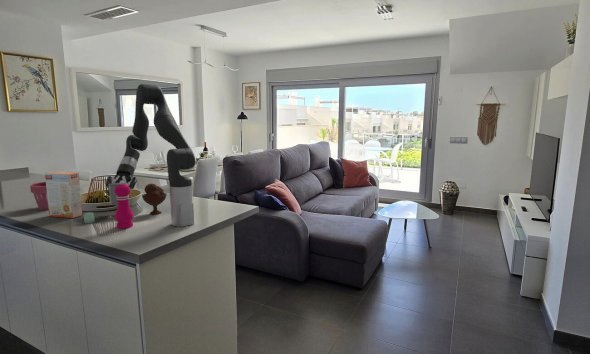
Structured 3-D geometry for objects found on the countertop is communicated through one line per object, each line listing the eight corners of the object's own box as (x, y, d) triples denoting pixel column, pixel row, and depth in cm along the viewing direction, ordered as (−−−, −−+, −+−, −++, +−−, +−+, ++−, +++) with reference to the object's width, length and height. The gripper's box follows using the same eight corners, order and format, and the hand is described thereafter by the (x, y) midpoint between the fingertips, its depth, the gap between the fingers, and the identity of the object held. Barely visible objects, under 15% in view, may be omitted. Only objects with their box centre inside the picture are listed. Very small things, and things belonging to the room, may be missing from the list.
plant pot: (62, 209, 173) (59, 185, 171) (28, 212, 167) (25, 186, 165) (69, 203, 186) (66, 180, 184) (38, 205, 181) (35, 181, 179)
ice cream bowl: (159, 217, 161) (157, 185, 159) (138, 215, 163) (136, 184, 161) (171, 211, 171) (170, 182, 169) (151, 210, 174) (150, 181, 171)
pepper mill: (129, 223, 151) (126, 178, 148) (137, 226, 147) (134, 180, 144) (112, 226, 146) (108, 180, 143) (120, 230, 141) (116, 182, 138)
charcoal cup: (127, 202, 167) (126, 182, 166) (120, 205, 161) (119, 184, 160) (115, 201, 168) (113, 181, 166) (107, 205, 161) (106, 184, 160)
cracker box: (83, 215, 163) (79, 172, 159) (72, 218, 157) (67, 174, 154) (60, 213, 166) (56, 170, 163) (48, 216, 161) (44, 172, 157)
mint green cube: (96, 222, 152) (95, 213, 152) (86, 224, 149) (85, 215, 149) (93, 220, 155) (92, 211, 154) (83, 222, 152) (82, 213, 151)
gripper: (109, 162, 170) (97, 190, 160) (138, 163, 169) (127, 191, 159) (116, 171, 176) (105, 199, 166) (144, 172, 175) (134, 199, 166)
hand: (116, 195), depth 163 cm, fingers closed on charcoal cup, 6 cm apart
